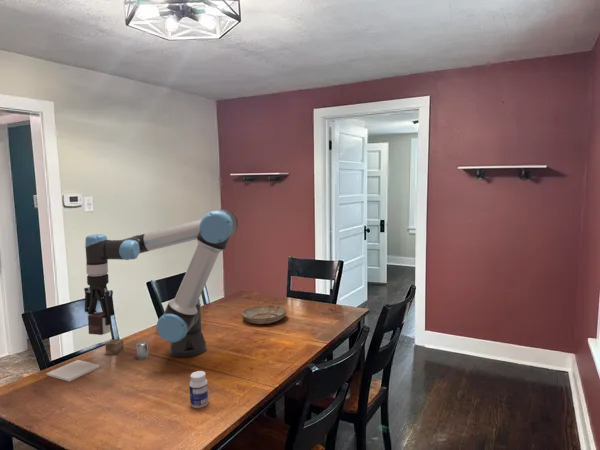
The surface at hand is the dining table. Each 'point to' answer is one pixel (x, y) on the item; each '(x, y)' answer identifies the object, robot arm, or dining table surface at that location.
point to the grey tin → (142, 350)
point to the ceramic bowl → (263, 314)
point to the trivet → (73, 370)
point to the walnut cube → (114, 347)
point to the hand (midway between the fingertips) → (100, 331)
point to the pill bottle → (198, 389)
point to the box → (96, 323)
